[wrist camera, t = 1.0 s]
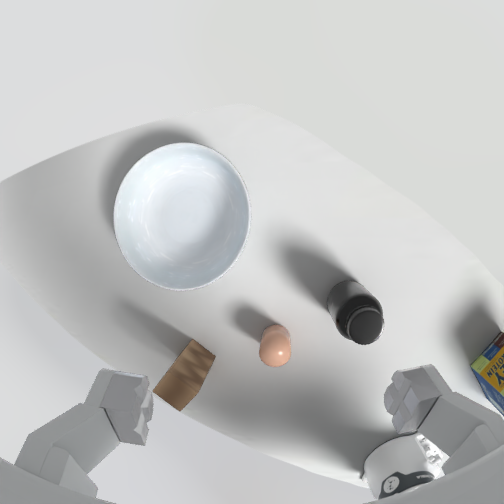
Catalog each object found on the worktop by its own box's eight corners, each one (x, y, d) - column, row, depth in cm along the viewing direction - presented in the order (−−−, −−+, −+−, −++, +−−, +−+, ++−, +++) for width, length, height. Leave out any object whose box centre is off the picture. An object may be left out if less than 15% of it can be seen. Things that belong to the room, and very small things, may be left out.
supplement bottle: (317, 300, 46) (328, 328, 34) (348, 271, 45) (370, 288, 33) (344, 328, 46) (362, 361, 34) (375, 300, 45) (401, 325, 33)
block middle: (210, 366, 45) (204, 379, 41) (194, 384, 45) (187, 397, 41) (185, 348, 45) (177, 358, 41) (170, 366, 45) (161, 378, 41)
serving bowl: (266, 161, 44) (264, 151, 37) (242, 292, 47) (236, 305, 40) (145, 146, 46) (125, 137, 39) (126, 266, 48) (105, 273, 42)
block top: (204, 379, 41) (197, 393, 37) (187, 397, 41) (180, 411, 37) (177, 358, 41) (168, 371, 37) (161, 378, 41) (152, 391, 38)
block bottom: (215, 356, 49) (210, 366, 45) (200, 373, 49) (194, 384, 45) (192, 338, 49) (185, 348, 45) (177, 357, 49) (170, 367, 45)
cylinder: (295, 335, 47) (297, 351, 41) (277, 354, 47) (277, 372, 42) (273, 319, 47) (272, 333, 41) (256, 339, 47) (252, 355, 42)
